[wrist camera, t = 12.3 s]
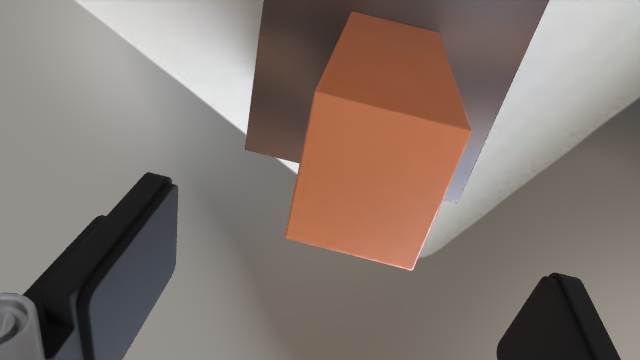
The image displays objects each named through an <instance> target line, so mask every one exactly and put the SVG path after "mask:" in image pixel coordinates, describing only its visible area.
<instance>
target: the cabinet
mask: <svg viewBox="0 0 640 360" xmlns="http://www.w3.org/2000/svg"><path fill="white" fill-rule="evenodd" d="M548 2H549V0H264V2H263V10H262V18H261V26H260V34H259V42H258V50H257V58H256V65H255V73H254V81H253V89H252V97H251V105H250V113H249V121H248V129H247V137H246V145H245V150H249V151H253V152H257V153H261V154H265V155H268V156H272V157H276V158H280V159H284V160H288V161H292V162H296V163H300V160H301V155H302V151H303V146H304V141H305V136H306V131H307V126H308V121H309V117H310V112H311V107H312V102H313V97H314V93H315V90H316V88H317V86H318V84H319V82H320V79H321V77H322V75H323V73H324V71H325V68H326V66H327V64H328V62H329V60H330V58H331V55H332V53H333V51H334V49H335V47H336V44H337V42H338V40H339V38H340V36H341V33H342V31H343V29H344V27H345V25H346V23H347V20H348V18H349V16H350V14H351V12H357V13H361V14H365V15H369V16H373V17H377V18H381V19H385V20H389V21H394V22H398V23H402V24H406V25H410V26H414V27H418V28H422V29H426V30H430V31H434V32H438V33H439V34H440V37H441V40H442V43H443V46H444V49H445V52H446V55H447V58H448V61H449V64H450V67H451V70H452V73H453V76H454V79H455V82H456V85H457V88H458V91H459V94H460V96H461V99H462V102H463V105H464V108H465V111H466V114H467V117H468V120H469V123H470V126H471V129H472V133H471V135H470V138H469V140H468V142H467V145H466V147H465V149H464V152H463V154H462V156H461V159H460V161H459V163H458V166H457V168H456V170H455V173H454V175H453V177H452V180H451V182H450V184H449V187H448V189H447V191H446V194H445V196H444V198H443V200H446V201H450V202H454V203H458V200H459V198H460V196H461V194H462V192H463V189H464V187H465V185H466V183H467V181H468V178H469V176H470V174H471V172H472V169H473V167H474V165H475V163H476V161H477V158H478V156H479V154H480V152H481V150H482V147H483V145H484V143H485V141H486V139H487V136H488V134H489V132H490V130H491V127H492V125H493V123H494V121H495V119H496V116H497V114H498V112H499V110H500V108H501V105H502V103H503V101H504V99H505V97H506V94H507V92H508V90H509V88H510V86H511V83H512V81H513V79H514V77H515V74H516V72H517V70H518V68H519V66H520V63H521V61H522V59H523V57H524V55H525V52H526V50H527V48H528V46H529V44H530V41H531V39H532V37H533V35H534V32H535V30H536V28H537V26H538V24H539V21H540V19H541V17H542V15H543V13H544V10H545V8H546V6H547V4H548Z"/></svg>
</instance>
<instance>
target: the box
mask: <svg viewBox="0 0 640 360" xmlns="http://www.w3.org/2000/svg"><path fill="white" fill-rule="evenodd" d="M471 133H472V129H471V126H470V123H469V120H468V117H467V114H466V111H465V108H464V105H463V102H462V99H461V96H460V94H459V91H458V88H457V85H456V82H455V79H454V76H453V73H452V70H451V67H450V64H449V61H448V58H447V55H446V52H445V49H444V46H443V43H442V40H441V37H440V34H439V33H438V32H434V31H430V30H426V29H422V28H418V27H414V26H410V25H406V24H402V23H398V22H394V21H389V20H385V19H381V18H377V17H373V16H369V15H365V14H361V13H357V12H351V14H350V16H349V18H348V20H347V23H346V25H345V27H344V29H343V31H342V33H341V36H340V38H339V40H338V42H337V44H336V47H335V49H334V51H333V53H332V55H331V58H330V60H329V62H328V64H327V66H326V68H325V71H324V73H323V75H322V77H321V79H320V82H319V84H318V86H317V88H316V90H315V93H314V97H313V102H312V107H311V112H310V117H309V121H308V126H307V131H306V136H305V141H304V146H303V151H302V155H301V160H300V165H299V170H298V175H297V180H296V185H295V189H294V194H293V199H292V204H291V209H290V214H289V219H288V224H287V229H286V234H285V237H286V238H288V239H291V240H295V241H299V242H304V243H307V244H311V245H315V246H319V247H323V248H327V249H331V250H335V251H338V252H342V253H346V254H350V255H354V256H358V257H362V258H366V259H369V260H374V261H377V262H381V263H386V264H389V265H393V266H397V267H401V268H405V269H408V270H413V268H414V266H415V263H416V261H417V259H418V257H419V254H420V252H421V250H422V247H423V245H424V243H425V240H426V238H427V236H428V233H429V231H430V229H431V226H432V224H433V222H434V219H435V217H436V215H437V212H438V210H439V208H440V205H441V203H442V201H443V198H444V196H445V194H446V191H447V189H448V187H449V184H450V182H451V180H452V177H453V175H454V173H455V170H456V168H457V166H458V163H459V161H460V159H461V156H462V154H463V152H464V149H465V147H466V145H467V142H468V140H469V138H470V135H471Z"/></svg>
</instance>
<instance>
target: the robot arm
mask: <svg viewBox="0 0 640 360" xmlns="http://www.w3.org/2000/svg"><path fill="white" fill-rule="evenodd" d="M177 208H178V186H177V185H174V184H172V180H171V178H169V177H166V176H162V175H158V174H153V173H150V172H148V173H146V174H145V175H144V176H143V177H142V178H141V179H140V180H139V181H138V182H137V184H135V185H134V187H133V188H132V189H131V190H130V191H129V192H128V193H127V194H126V195H125V197H124V198H123V199H122V200H121V201H120V202H119V203H118V204H117V205H116V206H115V208H114V209H113V210H112V211H111V212H110V213H109V214H108V215H107V216H103V215H101V216H98V217H96V218H95V219H94V220H93V221H92V222H91V223H90V224H89V225H88V226H87V227H86V228H85V230H83V232H82V233H81V234H80V235H79V236H78V237H77V238H76V239H75V240H74V241H73V242H72V243H71V244H70V245H69V246H68V247H67V248H66V250H65V251H64V252H63V253H62V254H61V255H60V256H59V257H58V258H57V259H56V260H55V261H54V262H53V263H52V264H51V265H50V267H49V268H48V269H47V270H46V271H45V272H44V273H43V274H42V275H41V276H40V277H39V278H38V279H37V280H36V282H34V284H33V285H32V286H31V287H30V288H29V289H28V290H27V291H26V292H25V293H24V294H23V295H20V294H17V293H0V360H122V359H123V358H124V356H125V354H126V353H127V351H128V349H129V347H130V346H131V344H132V342H133V341H134V339H135V337H136V336H137V334H138V332H139V330H140V329H141V327H142V325H143V324H144V322H145V320H146V319H147V317H148V315H149V313H150V312H151V310H152V308H153V307H154V305H155V303H156V302H157V300H158V298H159V297H160V295H161V293H162V291H163V290H164V288H165V286H166V285H167V283H168V281H169V280H170V278H171V276H172V274H173V272H174V269H175V265H176V243H177V211H178V209H177ZM497 360H621V359H620V357H619V355H618V353H617V351H616V349H615V347H614V345H613V343H612V341H611V339H610V337H609V335H608V333H607V331H606V329H605V327H604V325H603V323H602V321H601V319H600V317H599V315H598V313H597V311H596V309H595V307H594V305H593V303H592V301H591V299H590V297H589V295H588V293H587V291H586V289H585V287H584V285H583V283H582V282H581V280H580V279H578V278H576V277H571V276H567V275H563V274H559V273H552V274H550V275H549V276H548V277H547V276H545V277H543V278H542V279H541V280H540V281H539V283H538V284H537V286H536V287H535V289H534V290H533V292H532V293H531V295H530V296H529V298H528V299H527V301H526V302H525V304H524V305H523V307H522V308H521V310H520V311H519V313H518V314H517V316H516V317H515V319H514V320H513V322H512V324H511V325H510V326H509V328H508V329H507V331H506V332H505V334H504V336H503V337H502V338H501V340H500V342H499V344H498V346H497Z"/></svg>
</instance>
